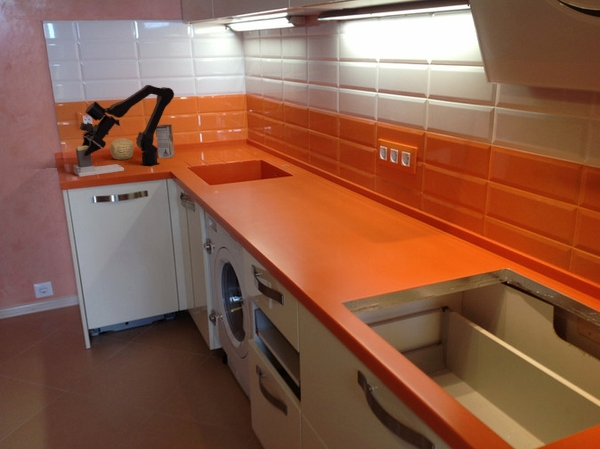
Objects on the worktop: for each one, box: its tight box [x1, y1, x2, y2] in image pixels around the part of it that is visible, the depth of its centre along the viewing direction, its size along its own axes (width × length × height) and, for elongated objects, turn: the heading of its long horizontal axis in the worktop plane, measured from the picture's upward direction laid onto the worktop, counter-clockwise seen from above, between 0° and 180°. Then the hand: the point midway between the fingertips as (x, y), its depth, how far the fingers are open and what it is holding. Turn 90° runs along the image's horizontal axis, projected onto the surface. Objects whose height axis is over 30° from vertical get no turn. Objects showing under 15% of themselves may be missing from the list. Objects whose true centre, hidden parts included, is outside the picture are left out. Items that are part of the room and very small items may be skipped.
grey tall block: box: [75, 145, 93, 168], centre depth 250 cm, size 5×5×11 cm
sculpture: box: [109, 137, 135, 161], centre depth 281 cm, size 12×12×11 cm
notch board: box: [73, 163, 125, 178], centre depth 255 cm, size 20×11×4 cm, turn 124°
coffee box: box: [155, 124, 175, 159], centre depth 285 cm, size 9×6×16 cm
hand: (82, 153), depth 249 cm, fingers open, 9 cm apart
